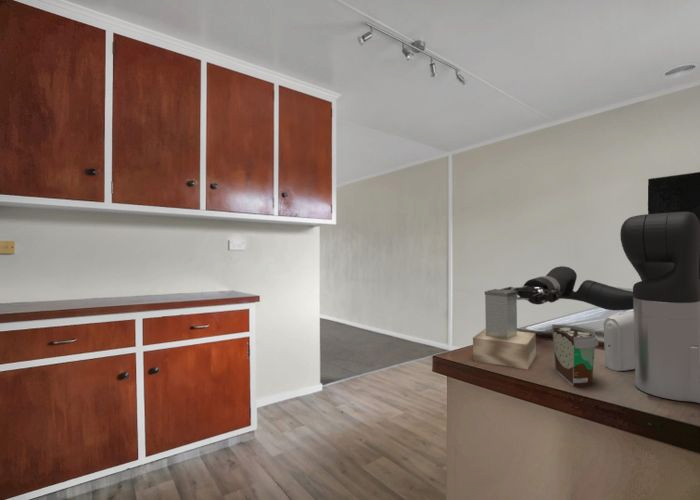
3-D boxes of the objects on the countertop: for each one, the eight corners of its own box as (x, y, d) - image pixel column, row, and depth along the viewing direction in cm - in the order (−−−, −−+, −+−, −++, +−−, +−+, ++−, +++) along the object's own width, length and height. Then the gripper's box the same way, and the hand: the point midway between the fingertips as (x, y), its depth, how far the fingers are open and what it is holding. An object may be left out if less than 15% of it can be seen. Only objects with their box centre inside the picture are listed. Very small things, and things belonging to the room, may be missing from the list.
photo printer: (620, 373, 74) (619, 315, 74) (601, 366, 78) (599, 312, 78) (655, 367, 77) (654, 312, 77) (635, 361, 81) (633, 308, 81)
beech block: (536, 356, 87) (535, 333, 87) (527, 371, 78) (526, 344, 78) (487, 349, 95) (486, 327, 95) (473, 361, 85) (472, 337, 85)
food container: (612, 391, 65) (611, 338, 65) (576, 389, 66) (575, 337, 66) (582, 368, 77) (581, 324, 77) (552, 367, 78) (551, 323, 78)
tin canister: (517, 334, 86) (517, 290, 86) (507, 339, 82) (507, 293, 82) (495, 330, 90) (495, 288, 90) (485, 335, 86) (484, 291, 86)
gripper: (569, 304, 97) (546, 315, 87) (518, 300, 108) (492, 309, 98) (568, 278, 97) (545, 285, 87) (516, 276, 108) (491, 282, 98)
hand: (517, 298), depth 92 cm, fingers open, 8 cm apart
